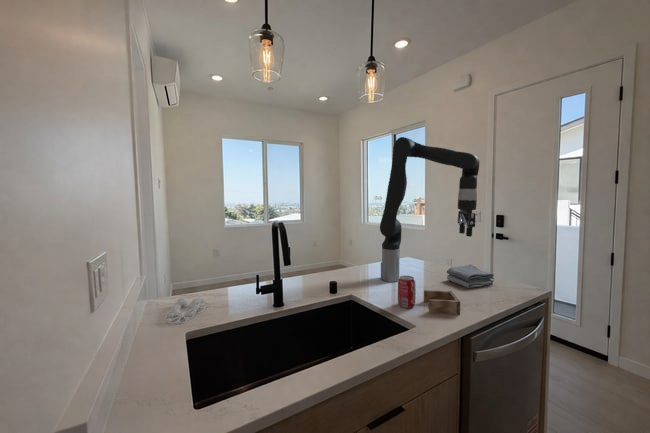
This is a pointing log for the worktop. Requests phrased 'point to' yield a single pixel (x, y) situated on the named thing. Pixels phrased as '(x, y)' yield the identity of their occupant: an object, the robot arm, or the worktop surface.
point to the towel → (469, 276)
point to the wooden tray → (442, 302)
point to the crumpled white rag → (179, 314)
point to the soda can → (406, 291)
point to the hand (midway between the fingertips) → (465, 234)
